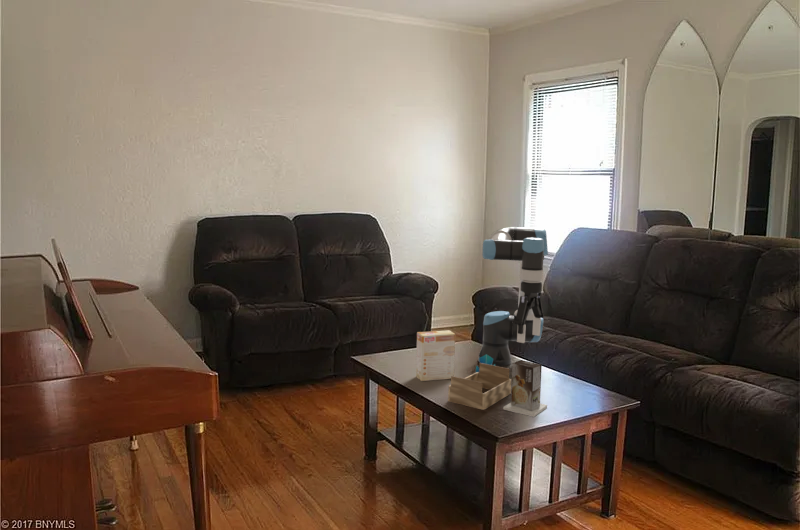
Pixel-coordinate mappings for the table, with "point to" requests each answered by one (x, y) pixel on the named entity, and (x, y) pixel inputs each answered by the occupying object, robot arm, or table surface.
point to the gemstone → (485, 361)
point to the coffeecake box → (435, 355)
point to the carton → (471, 387)
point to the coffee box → (526, 385)
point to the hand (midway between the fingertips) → (528, 338)
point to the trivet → (525, 411)
